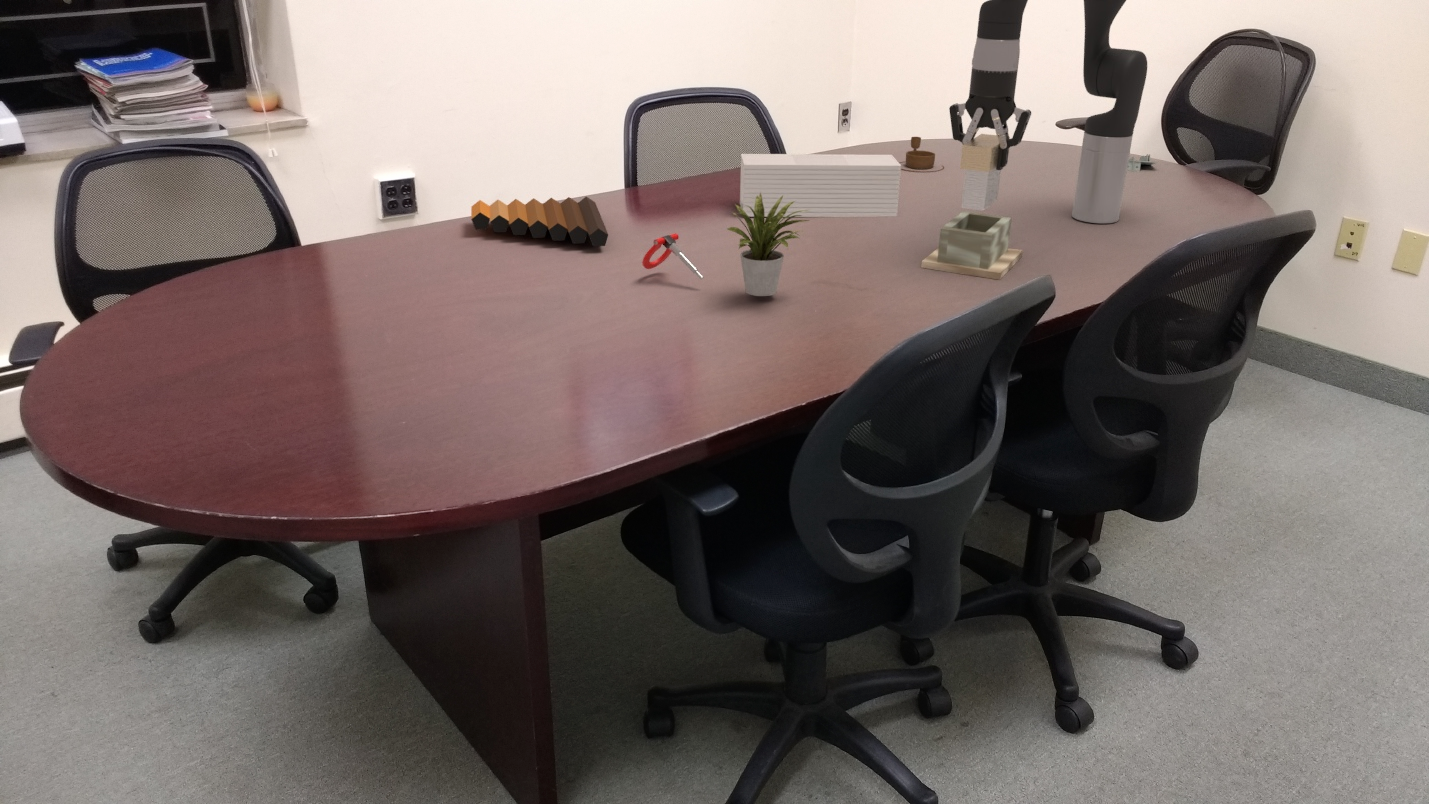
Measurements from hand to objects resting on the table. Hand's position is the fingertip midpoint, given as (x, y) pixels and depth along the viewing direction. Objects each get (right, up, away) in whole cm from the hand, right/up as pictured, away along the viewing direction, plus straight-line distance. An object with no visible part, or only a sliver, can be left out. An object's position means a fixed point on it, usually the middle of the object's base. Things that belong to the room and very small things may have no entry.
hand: (983, 167), depth 191 cm
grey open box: (0, -16, +7) cm, 17 cm away
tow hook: (-55, -21, 0) cm, 59 cm away
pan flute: (-79, -11, +10) cm, 80 cm away
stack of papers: (-25, -1, +41) cm, 48 cm away
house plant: (-39, -23, -11) cm, 47 cm away
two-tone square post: (0, -6, +3) cm, 6 cm away
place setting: (+5, +16, +80) cm, 82 cm away
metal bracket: (+62, +16, +76) cm, 99 cm away
